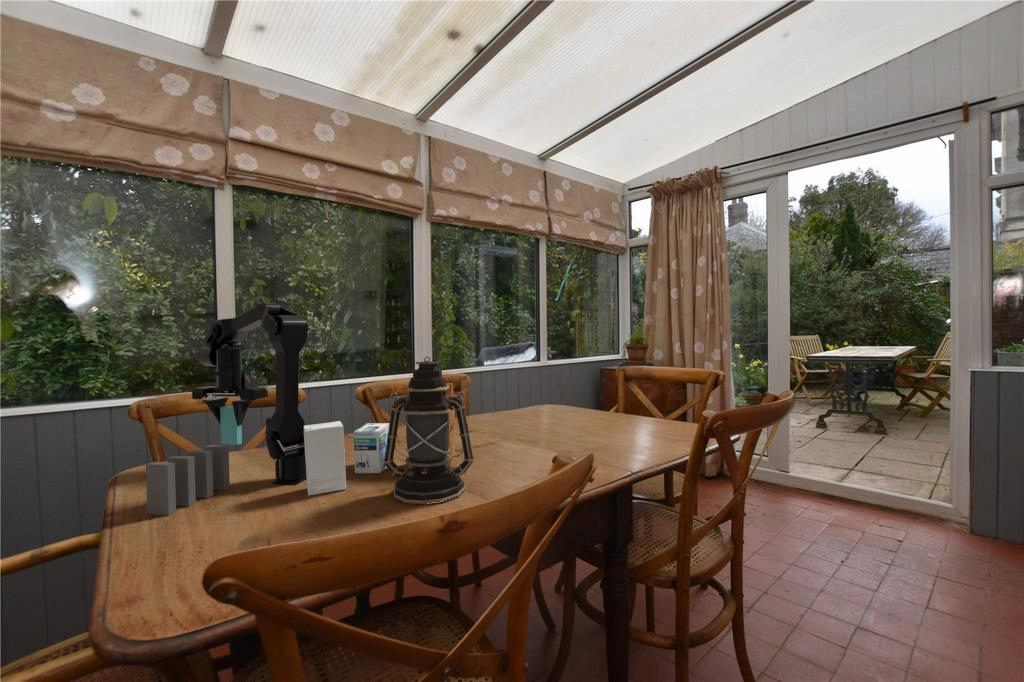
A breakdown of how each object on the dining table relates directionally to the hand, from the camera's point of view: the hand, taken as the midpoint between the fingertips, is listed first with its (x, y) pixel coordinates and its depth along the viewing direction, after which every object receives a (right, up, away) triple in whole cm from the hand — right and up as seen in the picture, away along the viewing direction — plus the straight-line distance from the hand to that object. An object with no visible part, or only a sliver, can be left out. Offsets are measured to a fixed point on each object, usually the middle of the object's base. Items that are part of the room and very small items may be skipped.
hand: (230, 425), depth 121 cm
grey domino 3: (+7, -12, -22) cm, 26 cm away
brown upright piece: (+55, -11, -3) cm, 56 cm away
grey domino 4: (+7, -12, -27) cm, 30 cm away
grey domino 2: (+8, -11, -18) cm, 23 cm away
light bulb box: (+39, -11, -3) cm, 41 cm away
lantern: (+57, -11, -21) cm, 62 cm away
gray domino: (+6, -12, -31) cm, 34 cm away
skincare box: (+33, -11, -19) cm, 40 cm away
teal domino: (0, -5, 0) cm, 5 cm away
